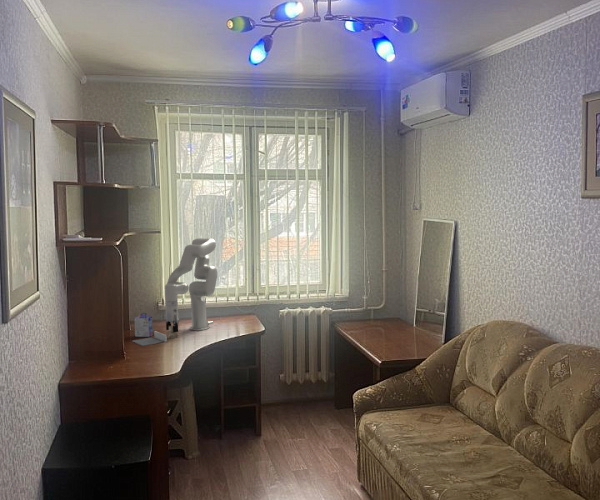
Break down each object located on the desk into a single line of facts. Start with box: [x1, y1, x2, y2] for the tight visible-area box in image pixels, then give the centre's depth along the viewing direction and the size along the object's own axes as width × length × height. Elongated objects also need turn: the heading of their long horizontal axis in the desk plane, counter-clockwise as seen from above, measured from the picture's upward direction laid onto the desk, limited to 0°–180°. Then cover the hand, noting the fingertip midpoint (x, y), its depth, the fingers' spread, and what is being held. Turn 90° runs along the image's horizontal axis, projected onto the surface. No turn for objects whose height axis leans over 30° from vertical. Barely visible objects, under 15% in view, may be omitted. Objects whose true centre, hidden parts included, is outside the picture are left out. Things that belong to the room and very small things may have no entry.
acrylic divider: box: [153, 330, 168, 343], centre depth 363 cm, size 1×16×4 cm, turn 37°
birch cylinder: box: [168, 325, 178, 339], centre depth 368 cm, size 5×5×7 cm
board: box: [131, 336, 163, 347], centre depth 359 cm, size 13×16×1 cm
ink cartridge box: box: [134, 312, 154, 338], centre depth 374 cm, size 10×6×14 cm, turn 78°
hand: (172, 330), depth 368 cm, fingers open, 9 cm apart
